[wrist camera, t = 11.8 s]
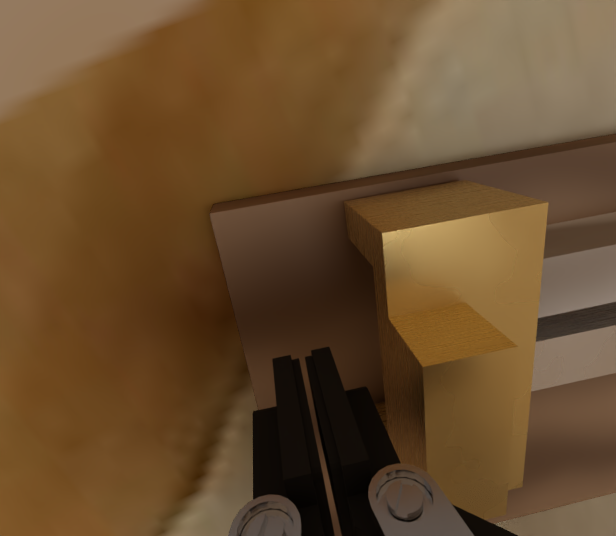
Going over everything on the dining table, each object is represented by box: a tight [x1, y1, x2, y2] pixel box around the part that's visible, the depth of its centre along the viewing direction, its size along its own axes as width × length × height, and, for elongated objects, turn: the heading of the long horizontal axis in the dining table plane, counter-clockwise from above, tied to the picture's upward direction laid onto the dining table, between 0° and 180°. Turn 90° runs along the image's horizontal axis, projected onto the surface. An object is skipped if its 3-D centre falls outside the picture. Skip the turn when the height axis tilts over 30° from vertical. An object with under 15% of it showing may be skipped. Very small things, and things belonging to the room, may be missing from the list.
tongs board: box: [209, 134, 616, 536], centre depth 16 cm, size 18×29×4 cm, turn 98°
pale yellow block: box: [344, 180, 548, 520], centre depth 11 cm, size 9×4×6 cm, turn 8°
